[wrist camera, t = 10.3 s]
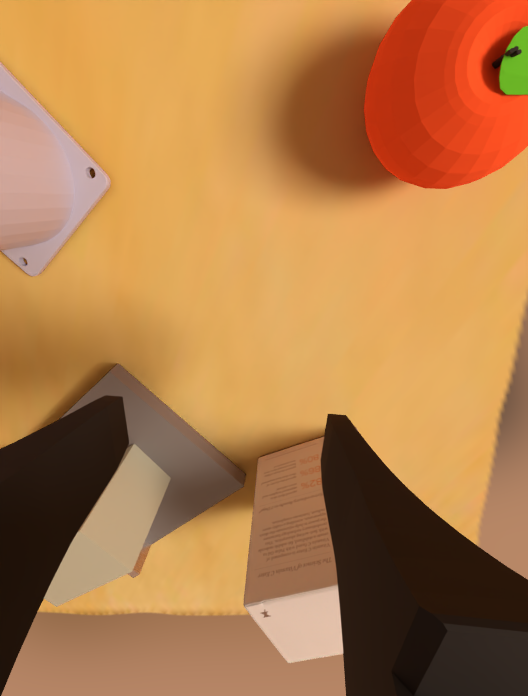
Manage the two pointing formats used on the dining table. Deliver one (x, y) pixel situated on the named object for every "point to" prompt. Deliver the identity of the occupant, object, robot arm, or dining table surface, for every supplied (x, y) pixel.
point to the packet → (112, 529)
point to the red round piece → (450, 91)
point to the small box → (293, 557)
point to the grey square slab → (169, 455)
